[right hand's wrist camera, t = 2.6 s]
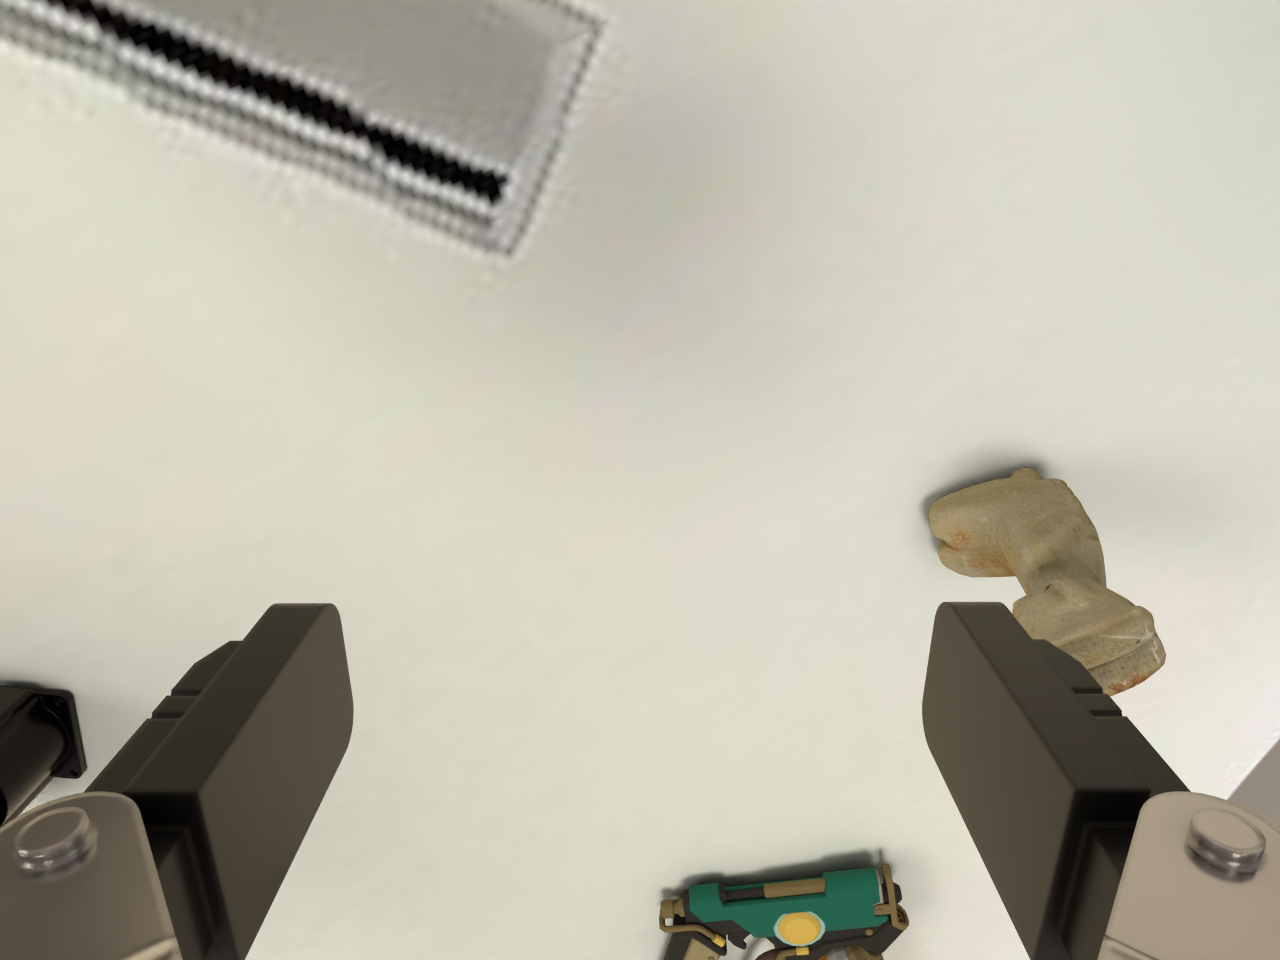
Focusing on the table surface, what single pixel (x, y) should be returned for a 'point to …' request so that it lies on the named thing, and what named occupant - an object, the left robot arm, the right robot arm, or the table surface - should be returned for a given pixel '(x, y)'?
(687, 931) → the spray gun
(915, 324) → the table surface
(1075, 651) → the sculpture
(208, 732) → the right robot arm
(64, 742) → the left robot arm
